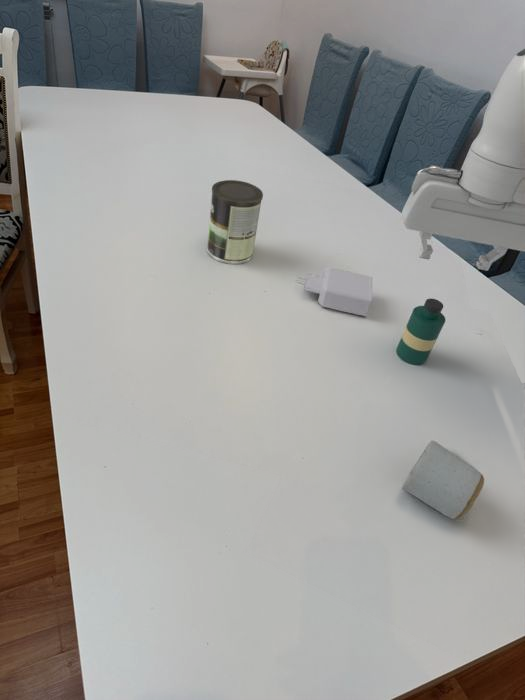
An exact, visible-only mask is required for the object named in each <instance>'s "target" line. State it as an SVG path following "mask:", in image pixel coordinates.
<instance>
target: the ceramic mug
mask: <svg viewBox="0 0 525 700" xmlns="http://www.w3.org/2000/svg"><path fill="white" fill-rule="evenodd" d="M484 483H485V477H484V475H483V474H482V473H481V472H480V471H479V470H478V469H477V468H475V467H474V466H473V465H472V464H470V463H468V462H467V461H465V460H464V459H462V458H461V457H459V456H458V455H456V454H454V453H453V452H451V451H450V450H448V448H446V447H444V446H443V445H441V444H440V443H438V442H437V441H435V440H430V441H429V443H427V445H426V447H425V449H423V452H422V453H421V454H420V456H419V458H418V460H417V461H416V462H415V464H414V465H413V467H412V469H411V470H410V472H409V474H408V475H407V477H406V478H405V481H404V482H403V484H402V486H401V487H402V489H403V490H404V491H405V492H407V493H409V494H410V495H412V496H413V497H415V498H417V499H418V500H420V501H421V502H423V503H425V504H426V505H428V506H430V507H431V508H433V509H435V510H436V511H437V512H439V513H440V514H441V515H444V516H446V517H448V518H450V519H453V520H461V519H462V518H464V517H465V516H466V515H467V514H468V512H469V511H470V510H471V508H472V506H473V505H474V504H475V502H476V500H477V499H478V497H479V495H480V493H481V491H482V489H483V487H484Z"/></svg>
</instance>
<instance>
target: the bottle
mask: <svg viewBox="0 0 525 700" xmlns="http://www.w3.org/2000/svg"><path fill="white" fill-rule="evenodd" d="M443 309H444V303H442V302H441V301H440V300H438V299H436V298H432V297H431V298H430V297H429V298H426V300H425V301H424V304H423V305H418V306H415V307H414V308H413V310H412V312H411V314H410V317H409V319H408V321H407V323H406V325H405V327H404V330H403V332H402V335H401V338H400V339H399V342H398V344H397V347H396V350H395V352H396V355H397V357H398V358H399V359H400V360H401V361H403V362H405V363H407V364H409V365H413V366H421V365H423V364H425V363H426V362H427V361H428V358H429V355H430V353H432V352H431V351H432V349H433V348H434V346H435V344H436V343H437V341H438V338H439V335H440V333H441V331H442V329H443V328H444V326H445V323H446V317H445V315H444V314H443V313H442V312H443Z"/></svg>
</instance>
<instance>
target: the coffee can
mask: <svg viewBox="0 0 525 700" xmlns="http://www.w3.org/2000/svg"><path fill="white" fill-rule="evenodd" d="M263 197H264V192H263V191H262V190H261V188H259V187H257V186H256V185H254V184H252V183H250V182H246V181H242V180H236V179H225V180H219V181H217V182H215V183H214V184H213V185H212V186H211V203H210V215H209V223H208V224H209V225H208V236H207V246H206V251H207V254H208V255H209V257H211V258H212V259H214V260H215V261H217V262H220V263H222V264H228V265H240V264H246V263H248V262H249V261H250V260H252V259H253V257H254V249H255V244H256V236H257V230H258V224H259V219H260V212H261V205H262V200H263Z"/></svg>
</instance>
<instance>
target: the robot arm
mask: <svg viewBox="0 0 525 700" xmlns="http://www.w3.org/2000/svg"><path fill="white" fill-rule="evenodd" d="M401 220H402V223H403V225H404V227H405V228H406V229H407V230H410V231H415V232H418V233H419V238H420V239H419V240H420V243H421V245H420V248H419V250H418V253H417V254H418V257H419V259H422V260H423V259H424V260H430V259H431V256H432V255H433V252H434V249H433V247H432V246H433V245H431V244H428V241H427V240H431V239H432V237H433V235H437V236H441V237H447V238H452V239H457V240H463V241H468V242H474V243H478V244H484V245H488V246H493V248H492V249H491V250H490V251H489V252H488V253H486V254H480V255H479V257H478V260H477V261H476V265H475V266H476V267H477V269H478V270H481V271H489V270H490V268H491V266H492V264H493V263H494V262H496V261H497V260H499V259H500V258H502V257H504V256H505V255H506V253H507V251H508V250H509V249H510V250H514V251H520V252H524V253H525V48H523V49H522V50H520V51H519V52H517V53H516V54H515V55H514V57H513V58H512V59H511V60H510V62H509V63H508V65H507V66H506V68H505V70H504V71H503V73H502V74H501V77H500V79H499V81H498V83H497V85H496V87H495V89H494V91H493V93H492V95H491V98H490V99H489V102H488V104H487V107H486V109H485V111H484V116H483V120H482V125H481V128H480V131H479V132H478V134H477V136H476V137H475V139H473V141H472V143H471V144H470V147H469V149H468V152H467V154H466V157H465V159H464V160H463V164H462V166H461V168H460V170H459V169H454V168H446V167H441V166H439V165H432V164H431V165H429V166H428V167H425V168H422V169H420V170H418V171H417V173H416V174H415V176H414V178H413V181H412V184H411V191H410V194H409V196H408V197H407V200H406V202H405V204H404V206H403V208H402V211H401Z"/></svg>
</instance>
